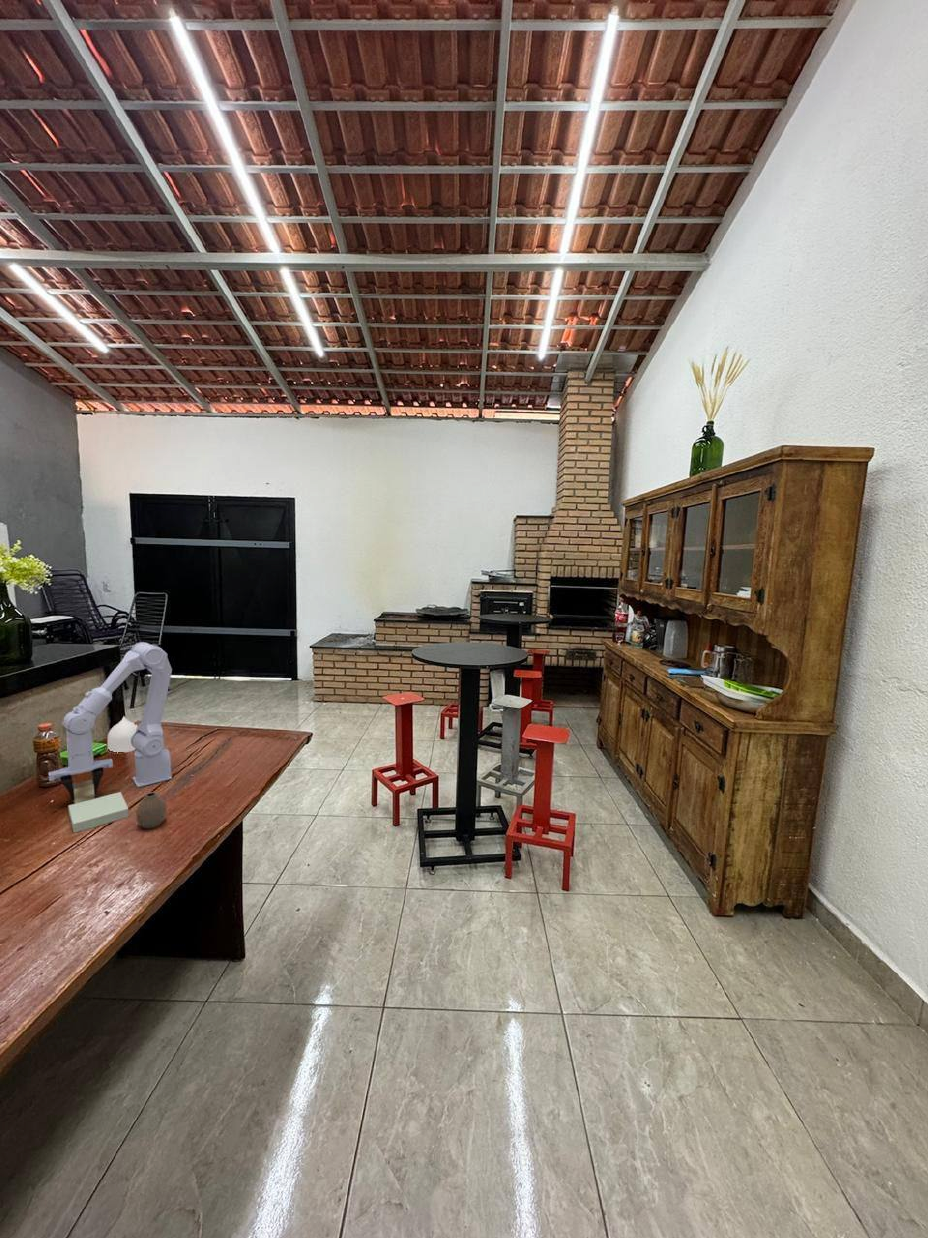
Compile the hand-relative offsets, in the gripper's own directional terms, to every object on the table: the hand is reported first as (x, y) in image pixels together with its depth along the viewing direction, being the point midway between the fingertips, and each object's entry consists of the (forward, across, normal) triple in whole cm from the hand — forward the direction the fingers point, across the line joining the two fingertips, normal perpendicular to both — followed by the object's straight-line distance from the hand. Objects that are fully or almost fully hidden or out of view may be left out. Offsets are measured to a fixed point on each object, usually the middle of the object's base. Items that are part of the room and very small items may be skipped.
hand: (83, 796), depth 143 cm
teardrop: (+2, -16, -37) cm, 40 cm away
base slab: (+1, -2, +12) cm, 12 cm away
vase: (+2, -12, +26) cm, 29 cm away
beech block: (+1, 0, 0) cm, 1 cm away
